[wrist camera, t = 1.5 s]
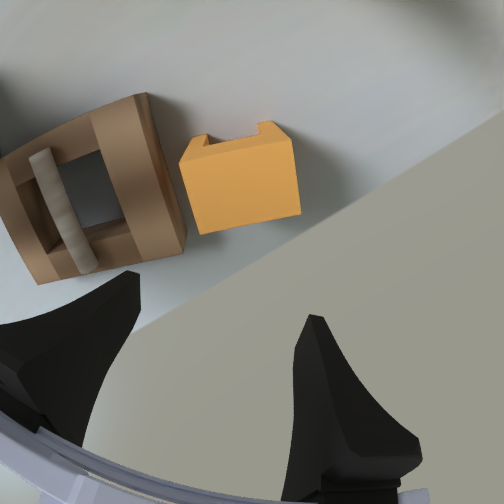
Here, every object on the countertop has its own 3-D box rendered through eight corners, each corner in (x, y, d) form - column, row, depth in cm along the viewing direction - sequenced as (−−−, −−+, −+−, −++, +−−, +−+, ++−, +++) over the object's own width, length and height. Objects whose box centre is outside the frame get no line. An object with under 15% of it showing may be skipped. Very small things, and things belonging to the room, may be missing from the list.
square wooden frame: (3, 158, 17) (-30, 179, 13) (146, 92, 17) (124, 96, 13) (51, 265, 23) (30, 297, 19) (187, 232, 23) (180, 267, 19)
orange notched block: (192, 137, 19) (178, 163, 13) (271, 120, 19) (291, 139, 13) (206, 189, 21) (199, 234, 16) (280, 174, 21) (301, 214, 15)
